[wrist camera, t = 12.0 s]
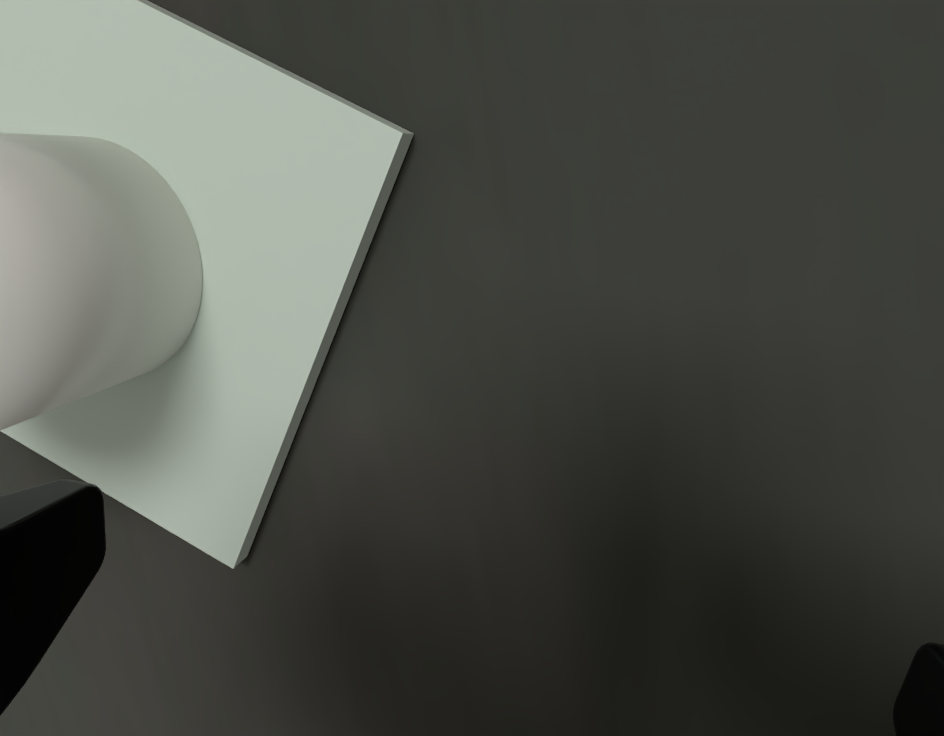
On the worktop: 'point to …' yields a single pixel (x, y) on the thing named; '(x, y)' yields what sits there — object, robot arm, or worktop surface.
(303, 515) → the worktop surface
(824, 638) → the worktop surface
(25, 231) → the bottle
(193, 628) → the worktop surface
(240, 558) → the mat
